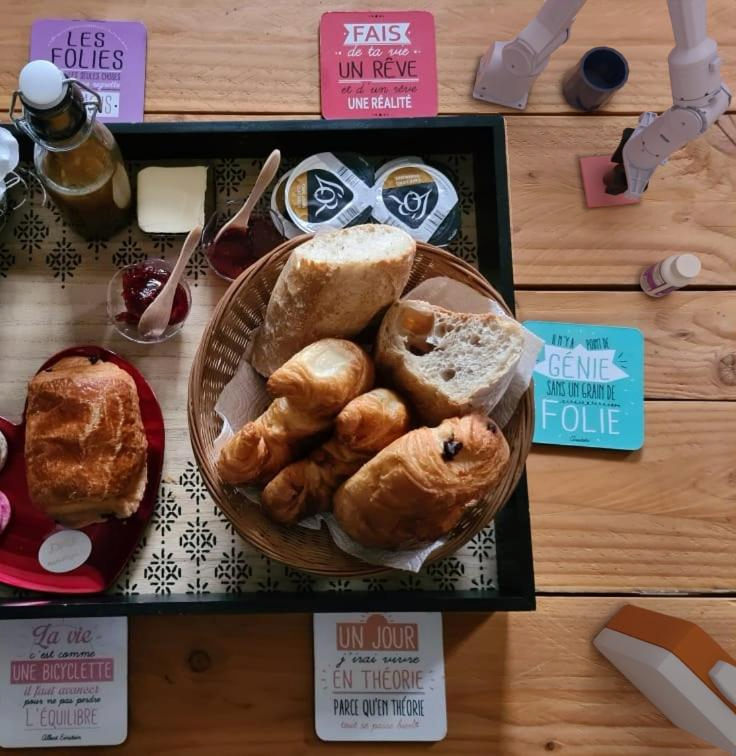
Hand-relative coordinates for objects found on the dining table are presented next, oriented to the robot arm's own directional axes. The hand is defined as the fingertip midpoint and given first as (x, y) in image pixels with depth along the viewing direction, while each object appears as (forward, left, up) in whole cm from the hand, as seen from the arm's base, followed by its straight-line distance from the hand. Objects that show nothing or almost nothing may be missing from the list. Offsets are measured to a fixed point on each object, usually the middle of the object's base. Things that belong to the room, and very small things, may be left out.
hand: (613, 176), depth 126 cm
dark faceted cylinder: (-7, +16, -2) cm, 18 cm away
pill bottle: (+11, -16, -2) cm, 20 cm away
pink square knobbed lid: (0, 0, -2) cm, 2 cm away
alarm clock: (+21, -78, -2) cm, 81 cm away
